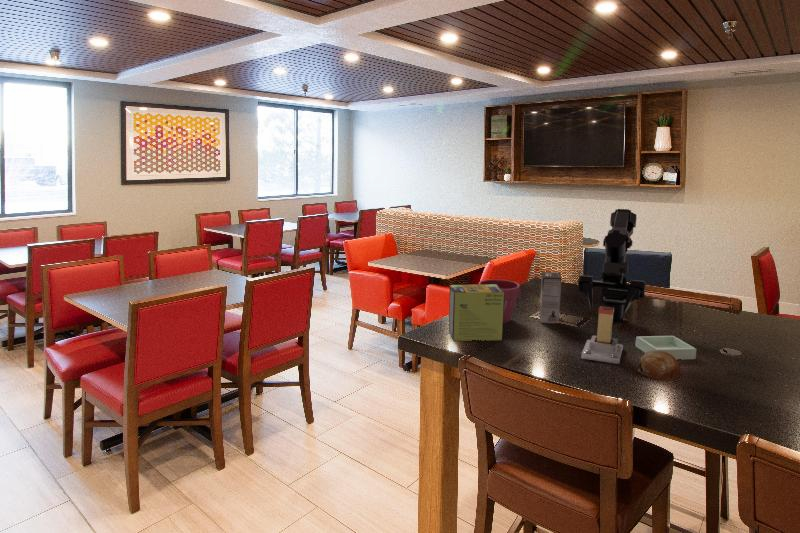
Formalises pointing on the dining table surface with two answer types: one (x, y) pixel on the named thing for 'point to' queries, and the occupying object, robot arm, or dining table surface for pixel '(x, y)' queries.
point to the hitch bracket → (602, 351)
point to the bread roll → (659, 365)
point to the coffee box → (550, 297)
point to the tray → (666, 346)
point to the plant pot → (506, 295)
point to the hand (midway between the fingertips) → (607, 310)
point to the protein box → (476, 312)
